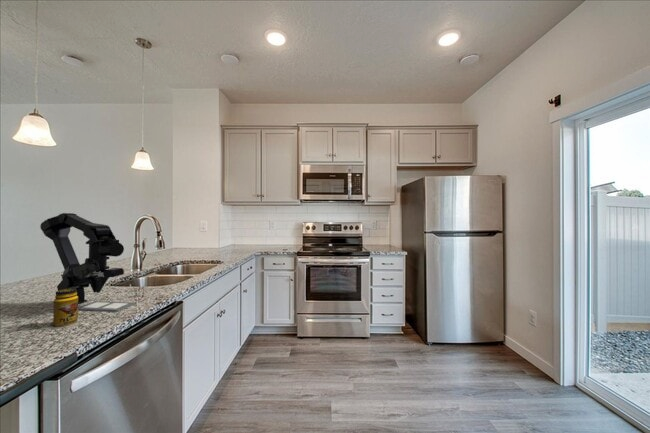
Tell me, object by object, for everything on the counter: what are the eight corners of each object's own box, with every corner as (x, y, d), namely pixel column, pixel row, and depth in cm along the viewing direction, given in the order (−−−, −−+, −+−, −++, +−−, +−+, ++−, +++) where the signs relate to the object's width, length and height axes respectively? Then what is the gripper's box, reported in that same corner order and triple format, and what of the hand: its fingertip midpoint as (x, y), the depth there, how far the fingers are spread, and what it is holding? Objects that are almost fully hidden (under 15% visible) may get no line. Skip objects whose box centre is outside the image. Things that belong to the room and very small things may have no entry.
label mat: (74, 310, 102) (74, 308, 102) (95, 302, 111) (95, 300, 111) (117, 311, 102) (117, 309, 102) (135, 304, 111) (135, 302, 111)
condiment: (72, 326, 88) (73, 291, 88) (39, 330, 85) (40, 294, 85) (83, 318, 94) (84, 286, 94) (53, 321, 91) (54, 288, 91)
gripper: (55, 257, 99) (54, 297, 99) (101, 259, 98) (100, 299, 98) (84, 253, 110) (83, 289, 110) (125, 254, 109) (124, 291, 109)
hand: (96, 292), depth 107 cm, fingers closed
